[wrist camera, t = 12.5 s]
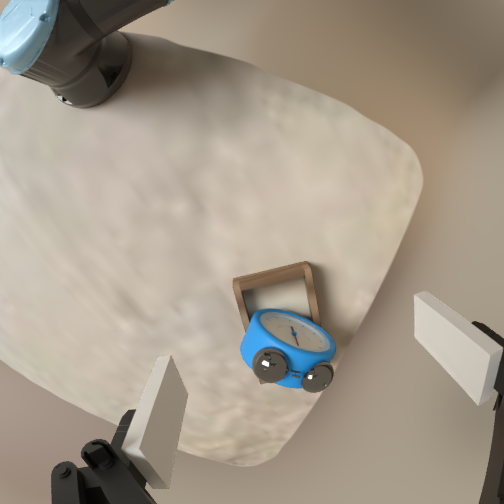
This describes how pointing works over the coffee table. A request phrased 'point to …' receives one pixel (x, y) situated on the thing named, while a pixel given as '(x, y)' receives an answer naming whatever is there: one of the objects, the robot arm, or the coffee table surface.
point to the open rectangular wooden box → (277, 292)
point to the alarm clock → (288, 350)
